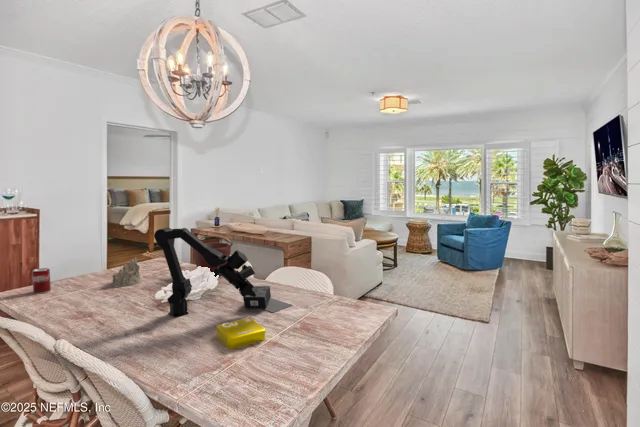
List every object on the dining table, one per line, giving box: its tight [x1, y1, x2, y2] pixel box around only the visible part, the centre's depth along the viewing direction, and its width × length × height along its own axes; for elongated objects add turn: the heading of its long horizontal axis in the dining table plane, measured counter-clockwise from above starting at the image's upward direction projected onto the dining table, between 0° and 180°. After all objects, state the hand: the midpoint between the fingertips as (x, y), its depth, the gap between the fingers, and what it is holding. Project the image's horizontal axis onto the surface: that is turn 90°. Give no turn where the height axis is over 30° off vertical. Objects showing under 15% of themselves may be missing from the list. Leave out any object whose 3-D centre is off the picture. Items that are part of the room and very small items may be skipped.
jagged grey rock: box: [111, 257, 143, 288], centre depth 203 cm, size 16×16×15 cm
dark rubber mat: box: [259, 297, 293, 314], centre depth 171 cm, size 13×16×1 cm
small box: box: [242, 285, 272, 310], centre depth 169 cm, size 11×6×10 cm
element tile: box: [216, 317, 266, 350], centre depth 136 cm, size 15×15×5 cm
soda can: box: [31, 267, 52, 295], centre depth 185 cm, size 7×7×12 cm
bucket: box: [192, 234, 234, 278], centre depth 222 cm, size 24×22×25 cm
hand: (255, 295), depth 162 cm, fingers closed
